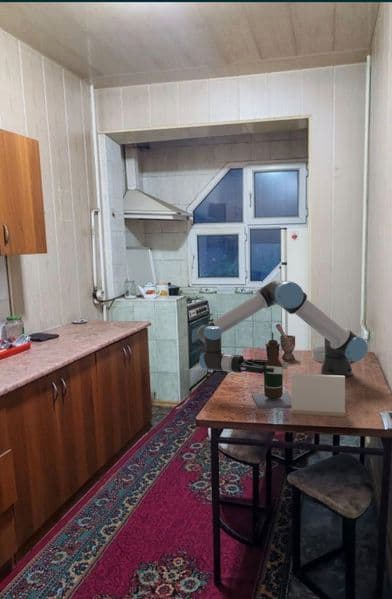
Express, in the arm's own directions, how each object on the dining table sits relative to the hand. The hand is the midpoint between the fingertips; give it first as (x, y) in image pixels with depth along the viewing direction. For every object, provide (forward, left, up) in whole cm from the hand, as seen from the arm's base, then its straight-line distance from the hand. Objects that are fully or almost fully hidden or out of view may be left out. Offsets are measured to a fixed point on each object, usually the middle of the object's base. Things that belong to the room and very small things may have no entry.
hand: (284, 368), depth 190 cm
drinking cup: (-6, -51, -15) cm, 54 cm away
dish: (-44, -69, -15) cm, 83 cm away
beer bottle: (+4, -2, -13) cm, 14 cm away
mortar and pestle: (-18, -74, -15) cm, 78 cm away
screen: (-10, +13, -15) cm, 22 cm away
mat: (+4, -2, -15) cm, 15 cm away
